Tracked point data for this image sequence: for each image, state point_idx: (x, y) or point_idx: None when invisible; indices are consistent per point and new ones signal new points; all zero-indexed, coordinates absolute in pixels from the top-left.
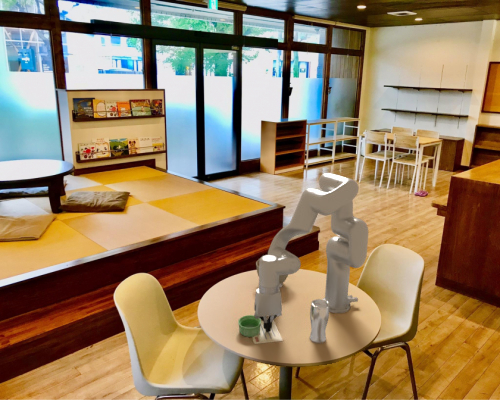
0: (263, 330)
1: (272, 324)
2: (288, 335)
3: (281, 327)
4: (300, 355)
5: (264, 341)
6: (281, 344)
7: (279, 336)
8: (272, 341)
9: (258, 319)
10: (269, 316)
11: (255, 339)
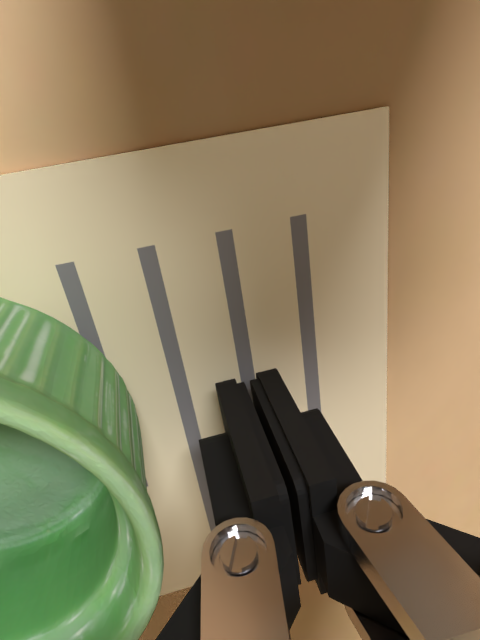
0: (190, 398)
1: (343, 243)
2: (465, 442)
3: (445, 303)
4: None
5: (193, 570)
6: None
7: (369, 478)
8: None
9: (100, 476)
10: (373, 570)
11: None
